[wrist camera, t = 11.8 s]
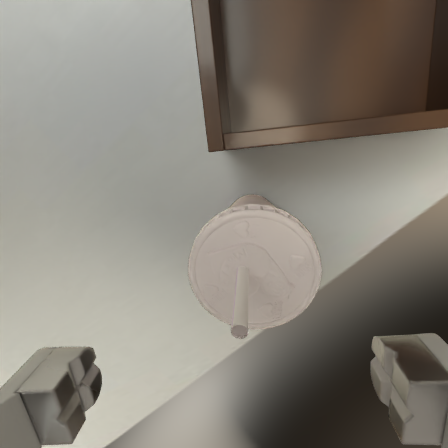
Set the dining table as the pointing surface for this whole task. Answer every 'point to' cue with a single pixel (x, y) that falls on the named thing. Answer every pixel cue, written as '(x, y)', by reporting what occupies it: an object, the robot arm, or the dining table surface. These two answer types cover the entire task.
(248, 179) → the dining table surface
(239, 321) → the smoothie
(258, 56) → the brown wooden open box
